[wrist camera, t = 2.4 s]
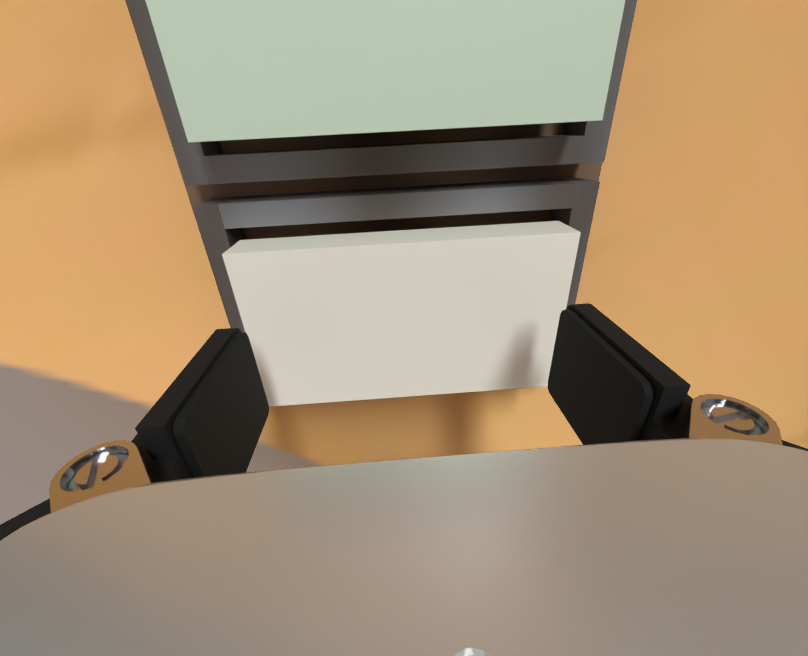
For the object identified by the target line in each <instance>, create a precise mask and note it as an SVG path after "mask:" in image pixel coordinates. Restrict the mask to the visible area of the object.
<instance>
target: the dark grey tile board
mask: <svg viewBox="0 0 808 656" xmlns="http://www.w3.org/2000/svg"><path fill="white" fill-rule="evenodd" d="M125 1H126V4H127V7H128V10H129V13H130V16H131V19H132V22H133V25H134V29H135V32H136V35H137V38H138V41H139V44H140V47H141V50H142V53H143V57H144V60H145V63H146V66H147V69H148V72H149V75H150V78H151V81H152V84H153V88H154V91H155V94H156V97H157V100H158V103H159V106H160V109H161V112H162V116H163V119H164V122H165V125H166V128H167V131H168V134H169V137H170V140H171V144H172V147H173V150H174V153H175V156H176V159H177V162H178V165H179V168H180V172H181V175H182V178H183V181H184V184H185V187H186V190H187V193H188V196H189V200H190V203H191V206H192V209H193V212H194V215H195V218H196V221H197V224H198V227H199V231H200V234H201V237H202V240H203V243H204V246H205V249H206V252H207V255H208V259H209V262H210V265H211V268H212V271H213V274H214V277H215V280H216V283H217V287H218V290H219V293H220V296H221V299H222V302H223V305H224V308H225V311H226V315H227V318H228V321H229V324H230V327H231V328H239V329H240V330H241V332H245V329H244V326H243V323H242V319H241V316H240V313H239V309H238V306H237V303H236V300H235V296H234V293H233V290H232V286H231V283H230V280H229V276H228V273H227V270H226V266H225V263H224V260H223V256H222V254H223V253H224V252H225V251H227V250H228V249H229V248H231V247H232V246H233V245H234V244H236V243H237V242H238V241H240V240H249V239H265V238H282V237H298V236H315V235H331V234H348V233H364V232H381V231H397V230H414V229H430V228H447V227H463V226H480V225H496V224H513V223H529V222H546V221H560V222H562V223H564V224H566V225H568V226H570V227H572V228H574V229H576V230H578V231H580V232H581V234H580V239H579V244H578V250H577V255H576V260H575V265H574V270H573V276H572V281H571V286H570V291H569V296H568V302H567V306H569V305H575V301H576V296H577V291H578V286H579V282H580V277H581V272H582V267H583V262H584V257H585V252H586V247H587V242H588V238H589V233H590V228H591V223H592V218H593V213H594V208H595V203H596V198H597V193H598V189H599V184H600V182H598V180H599V175H600V171H601V166H602V162H604V159H605V154H606V149H607V144H608V140H609V135H610V130H611V125H612V120H613V115H614V110H615V105H616V100H617V95H618V91H619V86H620V81H621V76H622V71H623V66H624V61H625V56H626V51H627V46H628V42H629V37H630V32H631V27H632V22H633V17H634V12H635V7H636V2H637V0H625V5H624V10H623V16H622V21H621V26H620V31H619V36H618V42H617V47H616V52H615V57H614V62H613V68H612V73H611V78H610V83H609V88H608V94H607V99H606V104H605V109H604V114H603V120H599V121H580V122H561V123H542V124H524V125H505V126H486V127H467V128H449V129H430V130H411V131H392V132H374V133H355V134H336V135H317V136H299V137H280V138H261V139H243V140H224V141H205V142H188V140H187V137H186V133H185V130H184V127H183V124H182V120H181V117H180V114H179V110H178V107H177V104H176V100H175V97H174V94H173V90H172V87H171V84H170V80H169V77H168V74H167V70H166V67H165V64H164V60H163V57H162V54H161V50H160V47H159V44H158V41H157V37H156V34H155V31H154V27H153V24H152V21H151V17H150V14H149V11H148V7H147V4H146V1H145V0H125ZM566 308H567V307H566Z"/></svg>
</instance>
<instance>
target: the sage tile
mask: <svg viewBox="0 0 808 656" xmlns="http://www.w3.org/2000/svg"><path fill="white" fill-rule="evenodd" d="M145 1H146V4H147V7H148V11H149V14H150V17H151V21H152V24H153V27H154V31H155V34H156V37H157V41H158V44H159V47H160V50H161V54H162V57H163V60H164V64H165V67H166V70H167V74H168V77H169V80H170V84H171V87H172V90H173V94H174V97H175V100H176V104H177V107H178V110H179V114H180V117H181V120H182V124H183V127H184V130H185V133H186V137H187V140H188V142H205V141H224V140H243V139H261V138H280V137H299V136H317V135H336V134H355V133H374V132H392V131H411V130H430V129H449V128H467V127H486V126H505V125H524V124H542V123H561V122H580V121H599V120H603V114H604V109H605V104H606V99H607V94H608V88H609V83H610V78H611V73H612V68H613V62H614V57H615V52H616V47H617V42H618V36H619V31H620V26H621V21H622V16H623V10H624V5H625V0H145Z"/></svg>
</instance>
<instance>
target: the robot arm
mask: <svg viewBox="0 0 808 656" xmlns="http://www.w3.org/2000/svg"><path fill="white" fill-rule="evenodd" d="M690 386H691V385H690V384H688V383H687V382H686V381H685V380H683V379H682V378H681V377H680V376H679V375H677V374H676V373H675V372H674V371H672V370H671V369H670V368H669V367H668V366H666V365H665V364H664V363H663V362H661V361H660V360H659V359H658V358H656V357H655V356H654V355H653V354H652V353H650V352H649V351H648V350H647V349H645V348H644V347H643V346H642V345H641V344H639V343H638V342H637V341H636V340H634V339H633V338H632V337H631V336H629V335H628V334H627V333H626V332H625V331H623V330H622V329H621V328H620V327H618V326H617V325H616V324H615V323H614V322H612V321H611V320H610V319H609V318H607V317H606V316H605V315H604V314H602V313H601V312H600V311H599V310H598V309H596V308H595V307H594V306H593V305H591V304H575V305H569V306H567V308H566V310H563V311H562V312H561V314H560V318H559V324H558V329H557V334H556V340H555V345H554V351H553V356H552V362H551V367H550V373H549V378H548V390H549V393H550V394H551V396H552V398H553V399H554V401H555V402H556V404H557V405H558V407H559V408H560V410H561V411H562V413H563V414H564V416H565V417H566V419H567V421H568V422H569V424H570V425H571V427H572V428H573V430H574V431H575V433H576V434H577V436H578V437H579V439H580V440H581V442H582V444H583V445H576V446H563V447H550V448H537V449H525V450H513V451H500V452H488V453H476V454H464V455H452V456H440V457H427V458H415V459H403V460H391V461H378V462H366V463H354V464H341V465H329V466H318V467H306V468H295V469H284V470H273V471H261V472H249V473H246V470H247V468H248V465H249V462H250V460H251V457H252V455H253V452H254V450H255V447H256V445H257V442H258V440H259V437H260V434H261V432H262V429H263V427H264V424H265V422H266V419H267V417H268V413H269V405H268V401H267V397H266V394H265V390H264V387H263V384H262V380H261V377H260V374H259V370H258V367H257V364H256V360H255V357H254V353H253V350H252V347H251V343H250V340H249V337H248V335H247V333H246V332H241V330H240V329H239V328H229V329H217V330H216V331H215V332H214V333H213V334H212V335H211V337H210V338H209V339H208V340H207V341H206V343H205V344H204V345H203V346H202V347H201V349H200V350H199V351H198V352H197V354H196V355H195V356H194V357H193V358H192V360H191V361H190V362H189V363H188V365H187V366H186V367H185V368H184V369H183V371H182V372H181V373H180V374H179V375H178V377H177V378H176V379H175V380H174V382H173V383H172V384H171V385H170V386H169V388H168V389H167V390H166V391H165V393H164V394H163V395H162V396H161V397H160V399H159V400H158V401H157V402H156V403H155V405H154V406H153V407H152V408H151V410H150V411H149V412H148V413H147V414H146V416H145V417H144V418H143V419H142V420H141V422H140V423H139V424H138V425H137V427H136V428H135V429H136V431H137V433H138V434H137V435H136V436H135V438H134V439H133V440H132V441H131V442H130V441H126V440H117V441H111V442H107V443H103V444H100V445H97V446H95V447H92V448H90V449H88V450H86V451H84V452H83V453H81V454H79V455H77V456H76V457H74V458H73V459H72V460H70V461H69V462H67V463H66V464H65V465H64V466H63V467H62V468H61V469H60V470H59V471H58V472H57V473H56V475H55V476H54V477H53V479H52V481H51V483H50V488H49V494H50V499H48V500H46V501H44V502H42V503H41V504H38V505H37V506H35V507H33V508H31V509H29V510H27V511H25V512H24V513H22V514H20V515H18V516H16V517H14V518H12V519H11V520H9V521H7V522H5V523H3V524H1V525H0V656H808V449H806V448H803V447H800V446H797V445H795V444H792V443H789V442H786V441H783V440H782V439H781V434H780V429H779V428H778V426H777V424H776V422H775V421H774V420H773V419H772V418H771V417H770V416H769V415H768V414H766V413H765V412H763V411H762V410H760V409H759V408H757V407H755V406H753V405H751V404H749V403H747V402H744V401H741V400H738V399H736V398H733V397H728V396H723V395H716V394H705V395H700V396H698V397H696V398H694V400H693V399H692V398H691V397H690V396H689V395H688V394H687V393H688V390H689V388H690Z"/></svg>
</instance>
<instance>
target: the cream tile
mask: <svg viewBox="0 0 808 656" xmlns="http://www.w3.org/2000/svg"><path fill="white" fill-rule="evenodd" d="M580 234H581V232H580V231H578V230H576V229H574V228H572V227H570V226H568V225H566V224H564V223H562V222H560V221H546V222H529V223H513V224H496V225H480V226H463V227H447V228H430V229H414V230H397V231H381V232H364V233H348V234H331V235H315V236H298V237H282V238H265V239H249V240H240V241H238V242H237V243H236V244H234V245H233V246H232V247H231V248H229V249H228V250H227V251H225V252H224V253H223V254H222V256H223V260H224V263H225V266H226V270H227V273H228V276H229V280H230V283H231V286H232V290H233V293H234V296H235V300H236V303H237V306H238V309H239V313H240V316H241V319H242V323H243V326H244V329H245V332H246V333H247V335H248V337H249V340H250V343H251V347H252V350H253V353H254V357H255V360H256V364H257V367H258V370H259V374H260V377H261V380H262V384H263V387H264V390H265V394H266V397H267V401H268V405H269V407H271V406H285V405H299V404H312V403H326V402H340V401H353V400H367V399H381V398H395V397H408V396H422V395H436V394H450V393H463V392H477V391H491V390H504V389H518V388H532V387H546V386H548V378H549V373H550V367H551V362H552V356H553V351H554V345H555V340H556V334H557V329H558V324H559V318H560V314H561V312H562V311H563V310H566V307H567V302H568V296H569V291H570V286H571V281H572V276H573V270H574V265H575V260H576V255H577V250H578V244H579V239H580Z"/></svg>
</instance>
